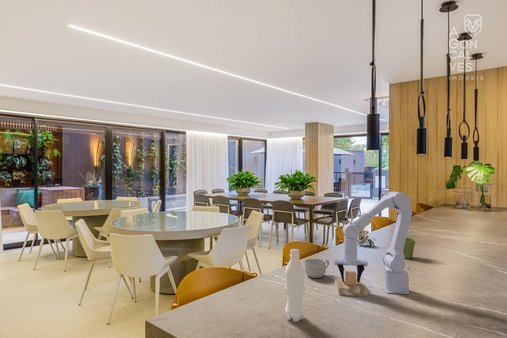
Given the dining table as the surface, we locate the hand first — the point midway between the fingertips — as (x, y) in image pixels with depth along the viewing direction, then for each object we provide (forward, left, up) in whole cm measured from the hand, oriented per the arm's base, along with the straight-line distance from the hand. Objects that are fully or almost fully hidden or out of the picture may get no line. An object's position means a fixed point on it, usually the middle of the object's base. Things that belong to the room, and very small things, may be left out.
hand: (350, 281), depth 143 cm
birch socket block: (0, 0, -4) cm, 4 cm away
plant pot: (-43, -58, -4) cm, 72 cm away
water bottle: (+25, +30, -4) cm, 39 cm away
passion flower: (-25, -87, -4) cm, 90 cm away
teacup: (+13, -18, -4) cm, 23 cm away
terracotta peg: (0, 0, -4) cm, 4 cm away
